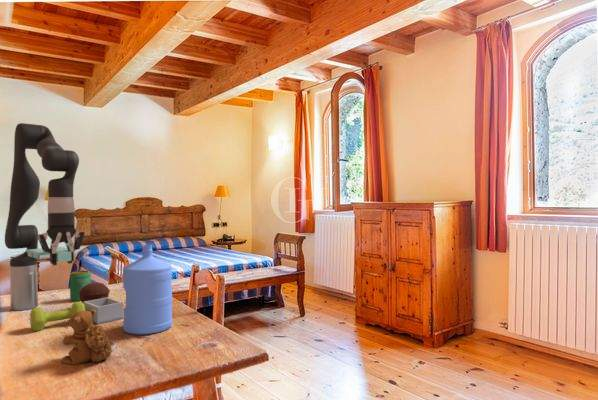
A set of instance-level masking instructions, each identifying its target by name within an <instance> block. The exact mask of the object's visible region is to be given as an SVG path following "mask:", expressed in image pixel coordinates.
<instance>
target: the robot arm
mask: <svg viewBox="0 0 598 400" xmlns="http://www.w3.org/2000/svg"><path fill="white" fill-rule="evenodd" d="M13 143H14V146H13V147H14V148H13V165H12V166H13V168H12V175H11V181H10V196H9V210H8V216H7V220H6V221H7V222H6V226H5V227H6V228H5V230H4V231H5V232H4V233H5V234H4V244H5V247H6V248H7V249H10V250H14V249H15V250H16V249H17V250H19V249H26V250H29V249H39V246H38V245H40V246H41V248H42V249H43V251H44V252H48V253H50V254H49V263H50V264H51V265H52V266H57V264H58V262H57V255H56V250H57V247H59V244H62V243H64V244H65V246H66V247H65V248H67V250H68V251H69V252H71V261H66V262H67V264H72V263H73V262H74V260H75V253H74V251H75V252H76V251H78V250H80V249H81V246H82V244H83V240H84V237H85V234H86V233H85V232H84V231H80V230H77V229H76V228H75V225H76V224H75V223H76V222H75V221H76V220H75V219H76V218H75V217H76V216H75V211H76V209H75V201H74V183H75V179H76V178H75V177H76V174H77V170H78V168H79V165H80V164H79V163H80V158H79V155H78V153H77V152H75V151H74V150H68V149H66V150H65V149H64V148H63V147H62V146H61V145H60V144H58V143H57V141H56V140H55V136H54V135H53V132H52V131H51V130H50V128H48V127H47V126H45V125H43V124H42V125H41V124H34V123H23V122H22V123H21V122H19V123H18V124H16V127H15V129H14V141H13ZM26 150H36V152H37V154H38V156H39V157H40V158H41V165H42V168H43V170H44V169H45V170H46V171H49V172H59V173H60V172H63V173H64V175H63V176H62V177H60V178H59V177H58V178H53V179H50V180H49V181H48V186H47V187H48V188H47V189H48V191H47V192H48V193H47V194H48V197H47V198H48V200H47V230H46V231H45V232H44V233H40V234H39V230H38V227H37V226H36V225H35V224H25V225H24V224H20V222H21V220H22V218H23V216H25V215H26V213H27V212H28V211H29V210H30V209H31V208H32V207H33V206H34V204H35V203H36V202H37V201H38V199H39V193H40V185H41V182H40V179H39V177H38V175H37V173H36V172H35V170H34V169H33V167H32V166H31V164H30V162H29V160H28V158H27V153H26V152H27V151H26ZM74 236H75V238H76V239H75V241H74V242H73V238H74ZM48 237H49V239H50V240H51V241H50V243H49V244H50V247H49V245H48V242H47V240H48ZM49 248H50V249H49ZM26 250H25V251H24V252H23V253H21V254H20V255H16V256H14V257H12V258H10V261H9V278H10V279H9V281H10V282H9V284H10V288H9V289H10V295H9V296H10V299H9V300H10V310H11V311H26V310H30V309H31V310H32V309H33V308H38V305H39V296H38V295H39V293H38V292H39V291H38V288H39V287H38V284H39V283H38V259H37V258H34V257H30V256H28V252H26Z"/></svg>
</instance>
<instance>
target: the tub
mask: <svg viewBox="0 0 598 400" xmlns="http://www.w3.org/2000/svg"><path fill="white" fill-rule="evenodd" d="M84 305H85V311H89V312H90V311H91V310H95V314H94V315H93V317H92V322H93V324H95V325H103V324H107V323H111V322H114V321H115V322H116V321H119V320H124V302H123V301H120V300H118V299H114V298H112V297H109V296H108V297H106V298H101V299H96V300H90V301H85V302H84Z"/></svg>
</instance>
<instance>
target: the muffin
mask: <svg viewBox="0 0 598 400" xmlns="http://www.w3.org/2000/svg"><path fill="white" fill-rule="evenodd" d="M110 292H111V290H110V289H109V287H108V286H107V285H106V284H104V283H102V282H98V281H95V282H91V283H89V284H87V285H86V286H84V287H83V288H82V289H81V291H80V292H79V295H80V301H81V302H82V303H83V304H84V302H85V301H90V300H96V299H101V298H106V297H109V295H110Z"/></svg>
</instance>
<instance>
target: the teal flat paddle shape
mask: <svg viewBox="0 0 598 400" xmlns="http://www.w3.org/2000/svg"><path fill="white" fill-rule="evenodd" d="M49 249H50V247H49ZM25 251H26V252H28V256H30V257H34V258H37V260H38V259H40V256H46V255H50V253H48V252H44V251H43V249H42V247H41V248H38V249H29V250H25ZM74 252H76V250H75V251H74ZM56 255H57V263H61V262H62V263H63V262H67V261H71V252H69V251H68V250H67V247H65V246H58V247H57V250H56Z"/></svg>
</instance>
